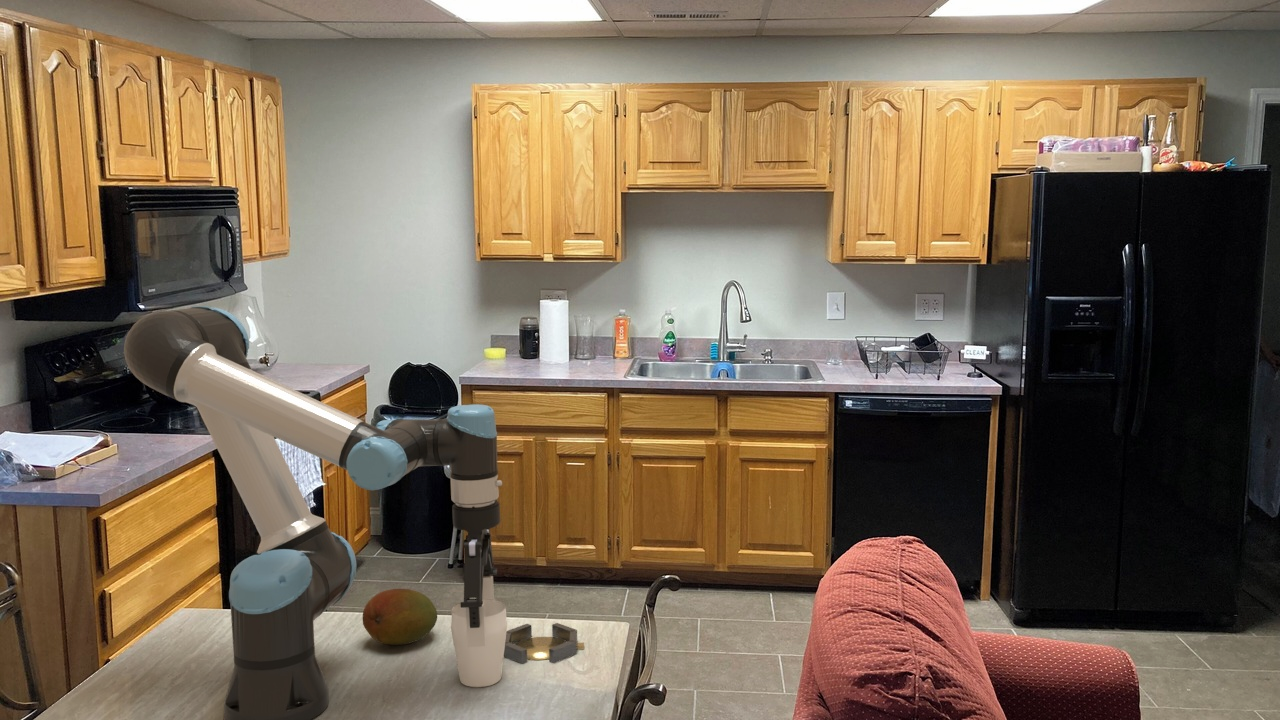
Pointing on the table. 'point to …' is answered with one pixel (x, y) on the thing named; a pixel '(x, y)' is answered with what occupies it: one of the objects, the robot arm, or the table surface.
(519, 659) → the socket
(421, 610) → the fruit
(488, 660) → the cup
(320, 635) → the table surface
